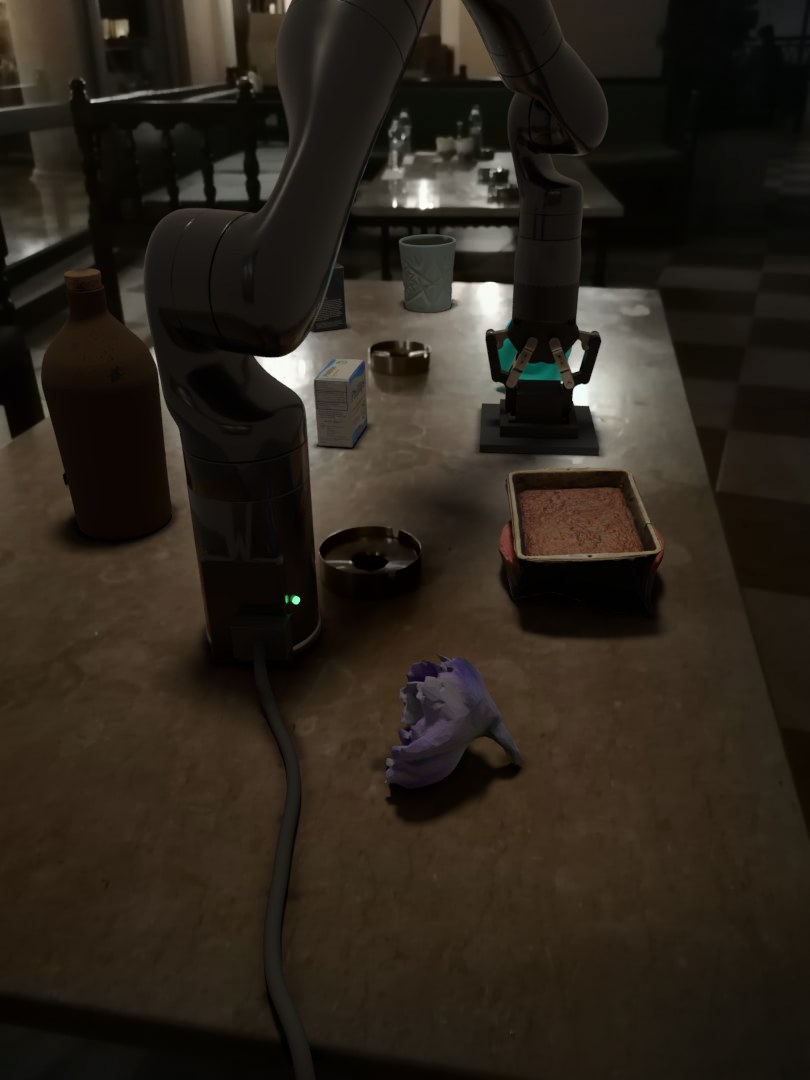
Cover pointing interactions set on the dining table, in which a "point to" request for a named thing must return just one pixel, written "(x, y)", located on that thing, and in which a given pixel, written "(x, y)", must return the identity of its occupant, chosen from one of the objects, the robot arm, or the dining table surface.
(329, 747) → the dining table surface
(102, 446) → the olive oil
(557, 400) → the black square block
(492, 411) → the socket pad
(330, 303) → the small box
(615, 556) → the baking dish
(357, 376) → the medicine box
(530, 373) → the donuts
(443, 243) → the grey green cup
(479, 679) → the flower
